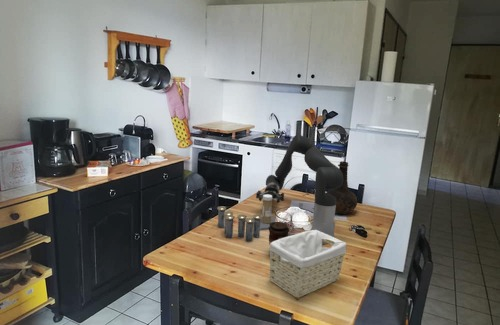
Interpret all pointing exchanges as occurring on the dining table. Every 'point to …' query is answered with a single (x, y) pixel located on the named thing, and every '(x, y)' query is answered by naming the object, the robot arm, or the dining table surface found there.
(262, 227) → the rubber mat
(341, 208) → the glass bottle
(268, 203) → the sprinkles bottle
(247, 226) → the posts
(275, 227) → the coffee cup
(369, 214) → the dining table surface
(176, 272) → the dining table surface
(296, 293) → the storage basket
